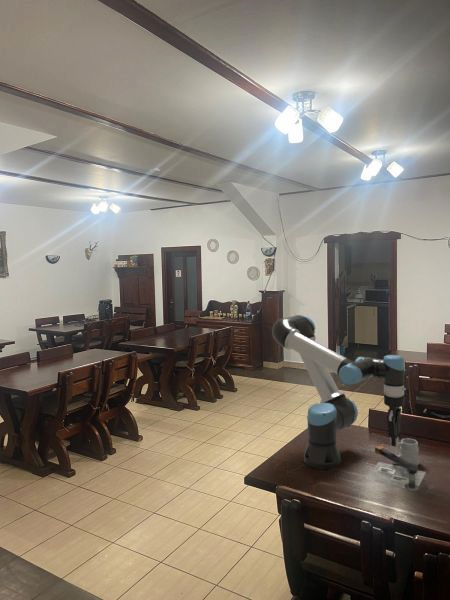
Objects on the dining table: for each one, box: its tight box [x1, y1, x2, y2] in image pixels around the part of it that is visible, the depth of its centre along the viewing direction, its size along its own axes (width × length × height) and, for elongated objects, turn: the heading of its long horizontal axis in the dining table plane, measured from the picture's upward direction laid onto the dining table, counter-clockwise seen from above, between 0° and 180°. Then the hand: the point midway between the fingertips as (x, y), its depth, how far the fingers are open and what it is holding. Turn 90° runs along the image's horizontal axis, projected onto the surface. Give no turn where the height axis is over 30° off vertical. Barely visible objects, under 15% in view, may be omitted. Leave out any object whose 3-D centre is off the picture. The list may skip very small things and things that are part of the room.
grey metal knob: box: [404, 473, 420, 492], centre depth 164 cm, size 5×5×7 cm
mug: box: [392, 437, 421, 467], centre depth 183 cm, size 8×12×12 cm, turn 95°
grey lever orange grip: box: [374, 445, 418, 473], centre depth 172 cm, size 20×4×2 cm, turn 21°
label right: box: [390, 475, 409, 484], centre depth 170 cm, size 6×4×1 cm, turn 56°
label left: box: [377, 467, 396, 475], centre depth 177 cm, size 6×4×1 cm, turn 56°
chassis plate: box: [366, 461, 427, 492], centre depth 174 cm, size 18×17×1 cm
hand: (394, 452), depth 180 cm, fingers closed
